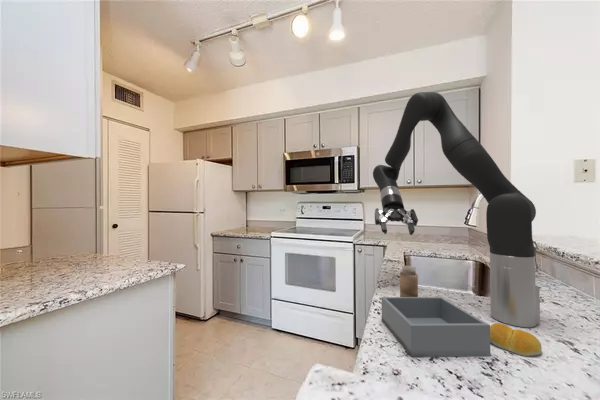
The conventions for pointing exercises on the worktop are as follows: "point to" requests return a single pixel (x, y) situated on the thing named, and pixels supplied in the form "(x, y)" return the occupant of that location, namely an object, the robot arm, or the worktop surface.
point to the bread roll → (514, 340)
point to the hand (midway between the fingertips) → (398, 232)
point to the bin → (435, 327)
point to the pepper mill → (408, 282)
